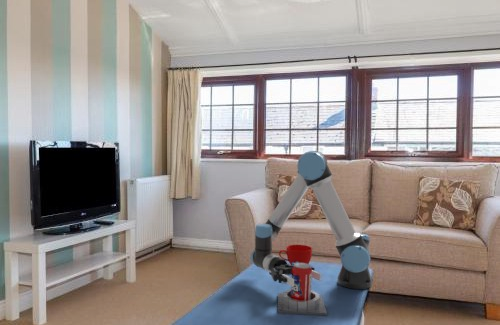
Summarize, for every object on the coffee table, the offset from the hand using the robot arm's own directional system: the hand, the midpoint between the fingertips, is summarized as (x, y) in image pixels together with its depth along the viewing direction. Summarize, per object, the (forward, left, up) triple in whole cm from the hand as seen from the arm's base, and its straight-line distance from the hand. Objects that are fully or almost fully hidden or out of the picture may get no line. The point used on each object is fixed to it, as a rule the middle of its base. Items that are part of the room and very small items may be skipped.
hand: (307, 280), depth 161 cm
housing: (+2, -3, -11) cm, 12 cm away
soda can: (+2, -2, -10) cm, 11 cm away
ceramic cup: (+2, -53, -11) cm, 54 cm away
